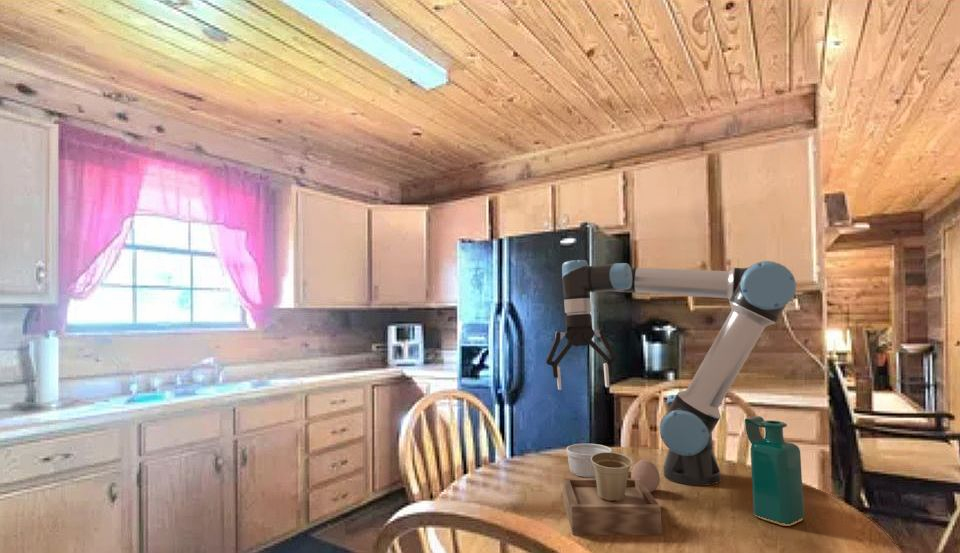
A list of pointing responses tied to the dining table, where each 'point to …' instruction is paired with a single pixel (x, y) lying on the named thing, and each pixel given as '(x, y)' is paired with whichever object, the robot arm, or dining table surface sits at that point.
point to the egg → (646, 474)
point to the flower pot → (611, 474)
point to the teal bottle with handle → (775, 472)
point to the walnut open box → (610, 509)
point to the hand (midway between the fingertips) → (583, 388)
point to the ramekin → (584, 458)
